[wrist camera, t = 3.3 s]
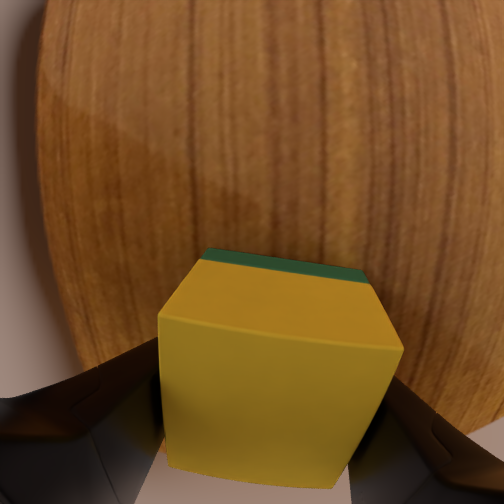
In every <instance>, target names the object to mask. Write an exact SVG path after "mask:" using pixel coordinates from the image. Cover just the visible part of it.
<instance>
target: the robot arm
mask: <svg viewBox="0 0 504 504" xmlns="http://www.w3.org/2000/svg"><path fill="white" fill-rule="evenodd" d="M164 437H165V434H164V424H163V412H162V400H161V386H160V370H159V348H158V337H156V338H154V339H152V340H150V341H147V342H145V343H143V344H141V345H139V346H137V347H135V348H133V349H131V350H129V351H127V352H125V353H123V354H121V355H119V356H117V357H115V358H113V359H111V360H109V361H107V362H105V363H102V364H100V365H98V368H97V367H94V368H92V369H90V370H88V371H85V372H83V373H81V374H79V375H77V376H74V377H72V378H69V379H67V380H64V381H61V382H59V383H56V384H53V385H50V386H47V387H44V388H41V389H38V390H35V391H32V392H29V393H26V394H23V395H20V396H16V397H12V398H0V504H134V503H135V500H136V498H137V496H138V494H139V491H140V489H141V487H142V485H143V483H144V481H145V478H146V476H147V474H148V472H149V469H150V467H151V465H152V463H153V461H154V458H155V456H156V454H157V452H158V450H159V448H160V445H161V443H162V441H163V439H164ZM348 470H349V480H350V490H351V501H352V504H504V462H503V461H501V460H500V459H498V458H496V457H495V456H494V455H492V454H491V453H489V452H488V451H487V450H485V449H483V448H482V447H481V446H479V445H478V444H476V443H475V442H474V441H472V440H471V439H470V438H468V437H467V436H465V435H464V434H463V433H461V432H460V431H459V430H457V429H456V428H455V427H454V426H452V425H451V424H450V423H449V422H448V421H446V420H445V419H444V418H443V417H442V416H441V415H439V414H438V413H436V411H435V410H433V409H432V408H431V407H430V406H429V405H428V404H427V403H425V402H424V401H423V400H422V399H421V398H420V397H418V396H417V395H416V394H415V393H414V392H413V391H411V390H410V389H409V388H408V387H407V386H406V385H404V384H403V383H402V382H401V381H400V380H399V379H397V378H396V377H395V376H394V375H393V378H392V380H391V382H390V384H389V386H388V389H387V391H386V393H385V395H384V397H383V399H382V401H381V403H380V405H379V407H378V409H377V411H376V413H375V415H374V417H373V419H372V421H371V423H370V425H369V427H368V429H367V431H366V432H365V434H364V436H363V438H362V440H361V442H360V443H359V445H358V447H357V449H356V450H355V452H354V454H353V456H352V457H351V459H350V461H349V462H348Z"/></svg>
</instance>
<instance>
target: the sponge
mask: <svg viewBox="0 0 504 504" xmlns="http://www.w3.org/2000/svg"><path fill="white" fill-rule="evenodd" d="M158 348H159V370H160V386H161V400H162V412H163V424H164V434H165V443H166V452H167V460H168V466H169V467H172V468H176V469H180V470H184V471H188V472H193V473H197V474H202V475H207V476H212V477H217V478H223V479H229V480H235V481H241V482H248V483H255V484H264V485H274V486H284V487H297V488H318V489H319V488H320V489H331V488H333V486H334V485H335V483H336V482H337V480H338V479H339V477H340V475H341V474H342V472H343V471H344V469H345V467H346V466H347V464H348V462H349V461H350V459H351V457H352V456H353V454H354V452H355V450H356V449H357V447H358V445H359V443H360V442H361V440H362V438H363V436H364V434H365V432H366V431H367V429H368V427H369V425H370V423H371V421H372V419H373V417H374V415H375V413H376V411H377V409H378V407H379V405H380V403H381V401H382V399H383V397H384V395H385V393H386V391H387V389H388V386H389V384H390V382H391V380H392V378H393V375H394V373H395V371H396V368H397V366H398V364H399V361H400V359H401V357H402V354H403V352H404V347H403V345H402V343H401V341H400V339H399V337H398V335H397V333H396V331H395V329H394V327H393V325H392V323H391V321H390V319H389V317H388V315H387V313H386V312H385V310H384V308H383V306H382V304H381V302H380V300H379V298H378V297H377V295H376V293H375V291H374V289H373V288H372V286H371V285H370V284H369V281H368V279H367V278H366V276H365V274H364V272H363V271H362V270H357V269H350V268H344V267H337V266H330V265H323V264H316V263H310V262H303V261H296V260H289V259H283V258H276V257H269V256H262V255H256V254H249V253H242V252H235V251H229V250H222V249H215V248H208V249H207V250H206V251H205V253H204V254H203V255H202V257H201V258H200V259H199V260H198V261H197V263H196V264H195V265H194V266H193V268H192V269H191V270H190V272H189V273H188V274H187V276H186V277H185V278H184V280H183V281H182V282H181V284H180V285H179V286H178V288H177V289H176V290H175V292H174V293H173V294H172V296H171V297H170V298H169V300H168V301H167V302H166V304H165V305H164V306H163V308H162V309H161V311H160V312H159V313H158Z"/></svg>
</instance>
